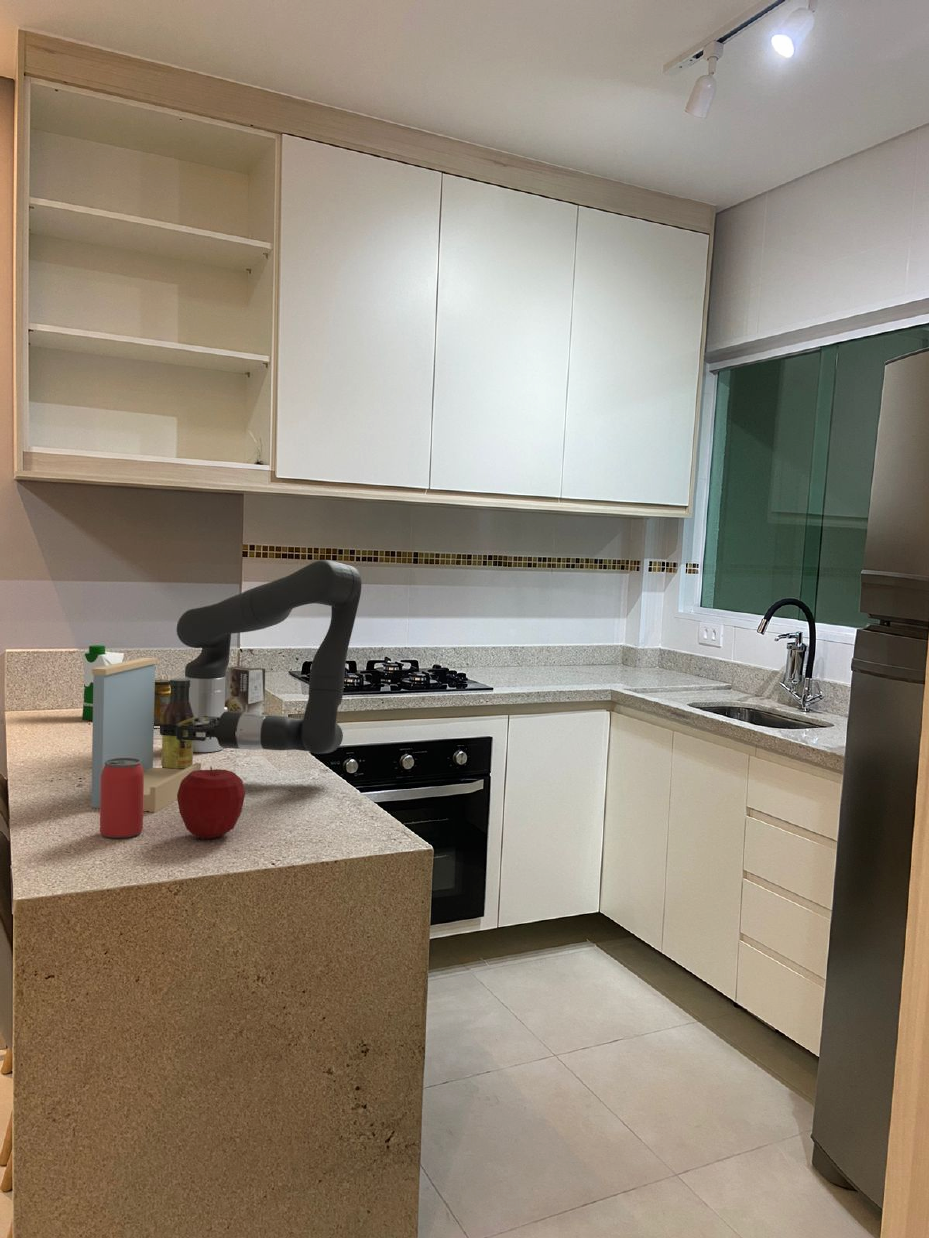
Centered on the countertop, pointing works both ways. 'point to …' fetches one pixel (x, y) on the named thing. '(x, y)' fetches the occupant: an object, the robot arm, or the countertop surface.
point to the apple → (210, 802)
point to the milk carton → (90, 661)
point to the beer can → (121, 798)
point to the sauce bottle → (177, 713)
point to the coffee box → (245, 689)
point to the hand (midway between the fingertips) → (169, 725)
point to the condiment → (161, 700)
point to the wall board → (130, 729)
